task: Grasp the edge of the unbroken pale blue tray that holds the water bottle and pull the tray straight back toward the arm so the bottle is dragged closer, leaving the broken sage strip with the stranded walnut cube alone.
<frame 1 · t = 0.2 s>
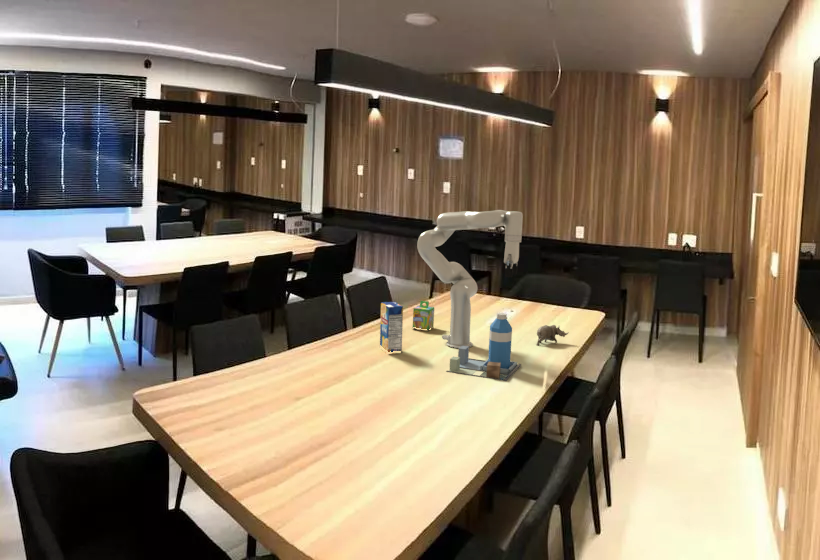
hand: (511, 275, 312), 36 cm above the table, tool pointing down, fingers open, 9 cm apart
rhinoceros figurine: (549, 343, 336), on the table
beverage box: (390, 351, 315), on the table
pale blue tray: (486, 359, 289), point 4 cm above the table, slide at 0.0 cm
lane rails: (481, 372, 285), on the table
walnut cube: (493, 375, 277), point 1 cm above the table, touching lane rails
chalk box: (423, 329, 358), on the table
strip2: (462, 366, 282), point 3 cm above the table, slide at 0.0 cm
water bottle: (498, 371, 288), resting in pale blue tray
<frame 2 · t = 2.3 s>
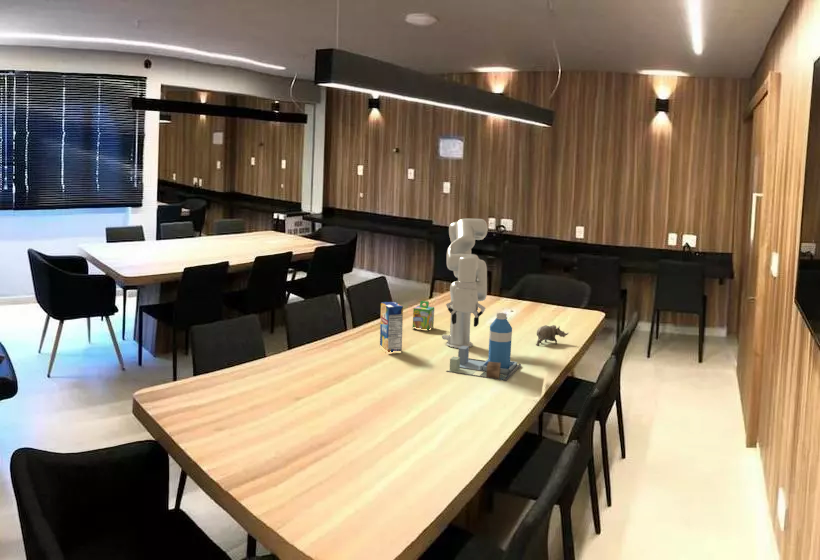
hand: (464, 324, 291), 18 cm above the table, tool pointing down, fingers open, 9 cm apart
nothing on the table moved.
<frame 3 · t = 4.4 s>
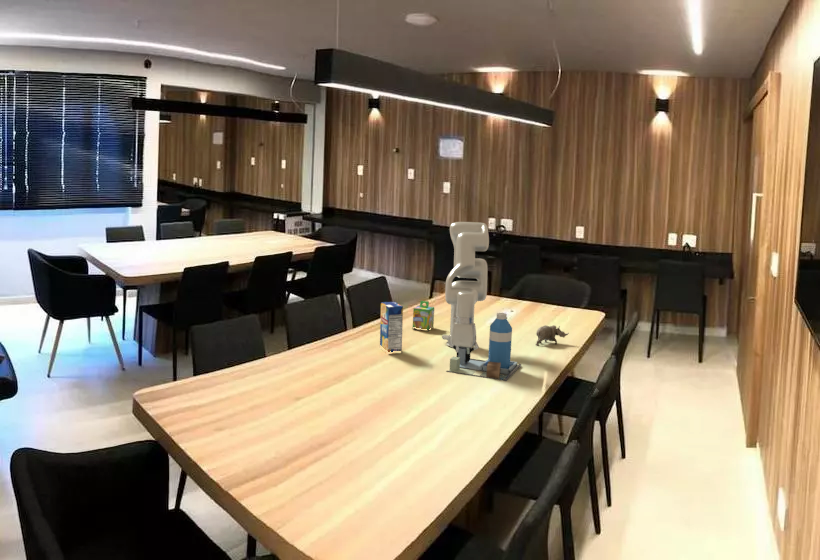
hand: (463, 361, 294), 2 cm above the table, tool pointing down, fingers closed on pale blue tray, 3 cm apart
pale blue tray: (486, 359, 289), point 4 cm above the table, slide at 0.0 cm, touching gripper
everything else where it was.
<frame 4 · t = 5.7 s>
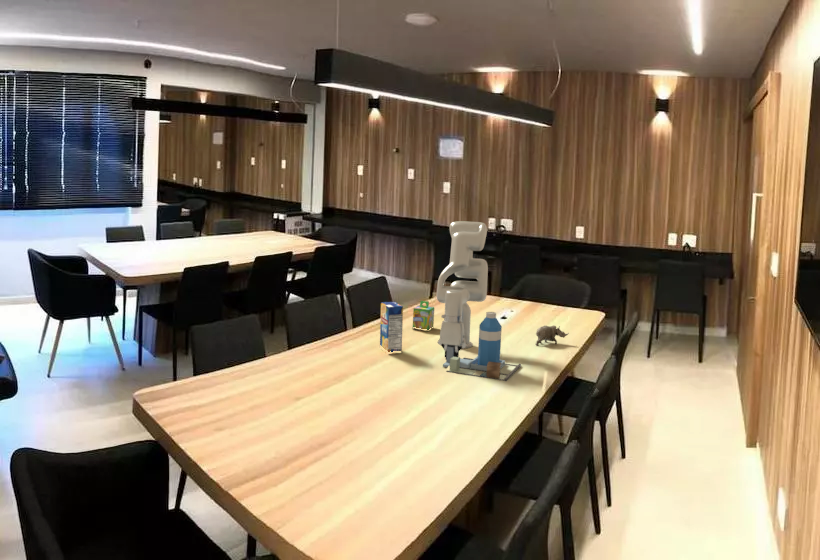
hand: (451, 359, 296), 2 cm above the table, tool pointing down, fingers closed on pale blue tray, 3 cm apart
pale blue tray: (474, 357, 291), point 4 cm above the table, slide at 5.4 cm, touching gripper
water bottle: (488, 370, 289), resting in pale blue tray
everything else where it was.
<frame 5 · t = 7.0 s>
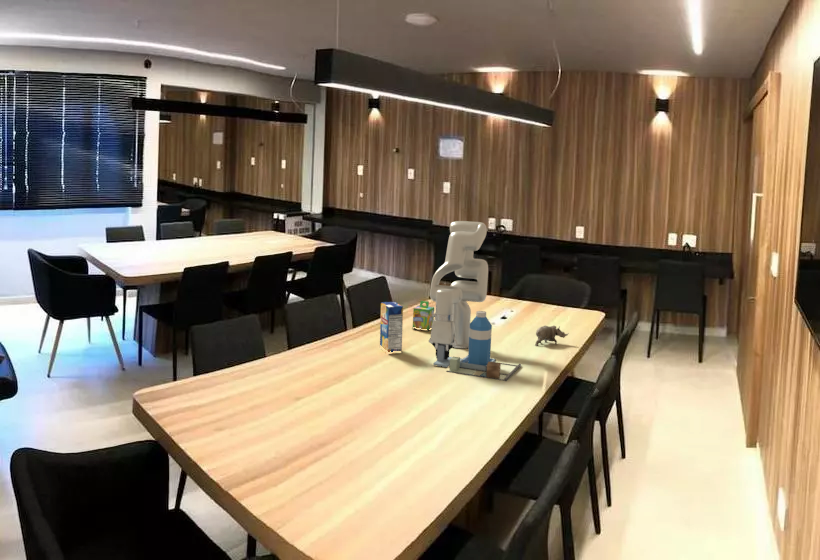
hand: (442, 357, 297), 2 cm above the table, tool pointing down, fingers closed on pale blue tray, 3 cm apart
pale blue tray: (464, 356, 293), point 4 cm above the table, slide at 9.7 cm, touching gripper, water bottle
water bottle: (478, 369, 291), resting in pale blue tray
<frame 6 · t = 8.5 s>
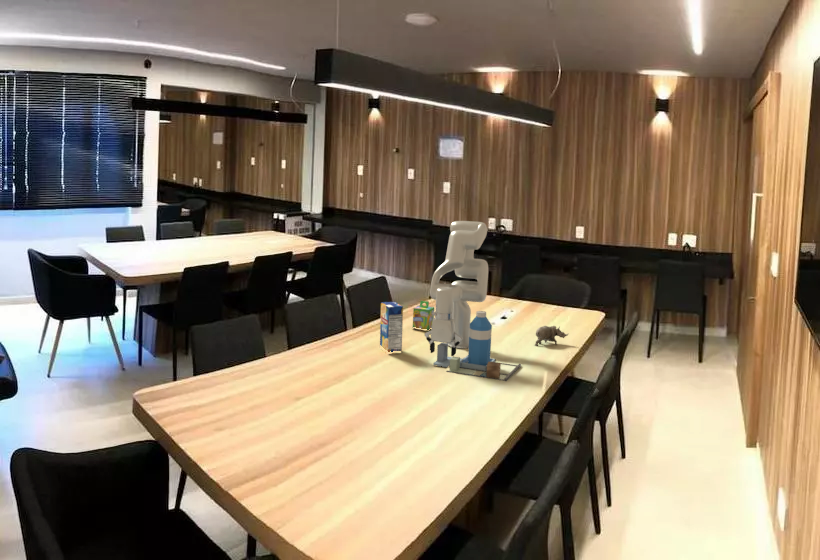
hand: (442, 353, 298), 4 cm above the table, tool pointing down, fingers open, 9 cm apart
pale blue tray: (464, 356, 293), point 4 cm above the table, slide at 9.7 cm
water bottle: (478, 369, 291), resting in pale blue tray
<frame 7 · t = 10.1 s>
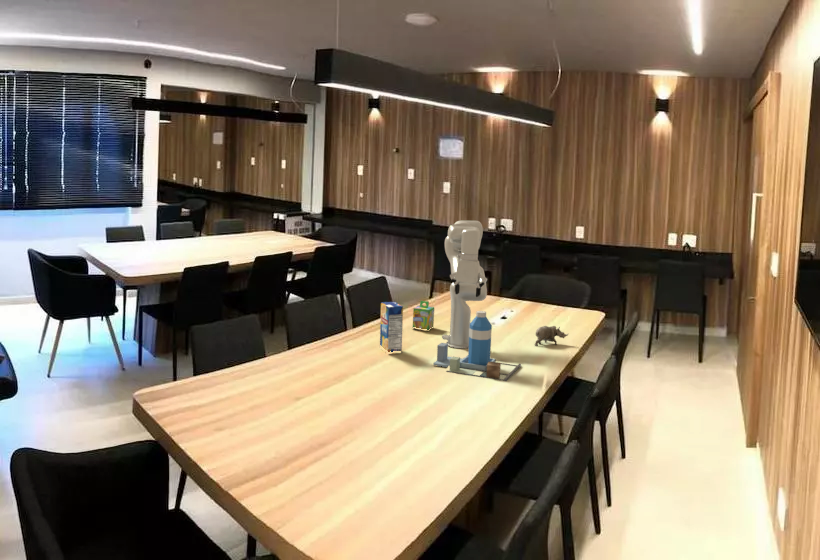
hand: (467, 295, 302), 29 cm above the table, tool pointing down, fingers open, 9 cm apart
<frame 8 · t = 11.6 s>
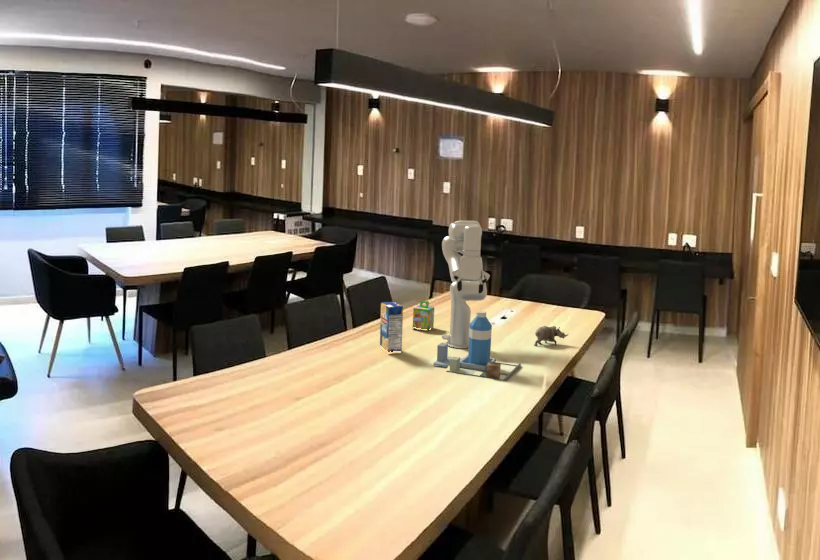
hand: (470, 291, 302), 30 cm above the table, tool pointing down, fingers open, 9 cm apart
at the end: pale blue tray slide at 9.7 cm; water bottle inside the target area on the pale blue tray (1.2 cm from its centre), point 0.0 cm above the pale blue tray's base; water bottle tilted 0° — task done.
